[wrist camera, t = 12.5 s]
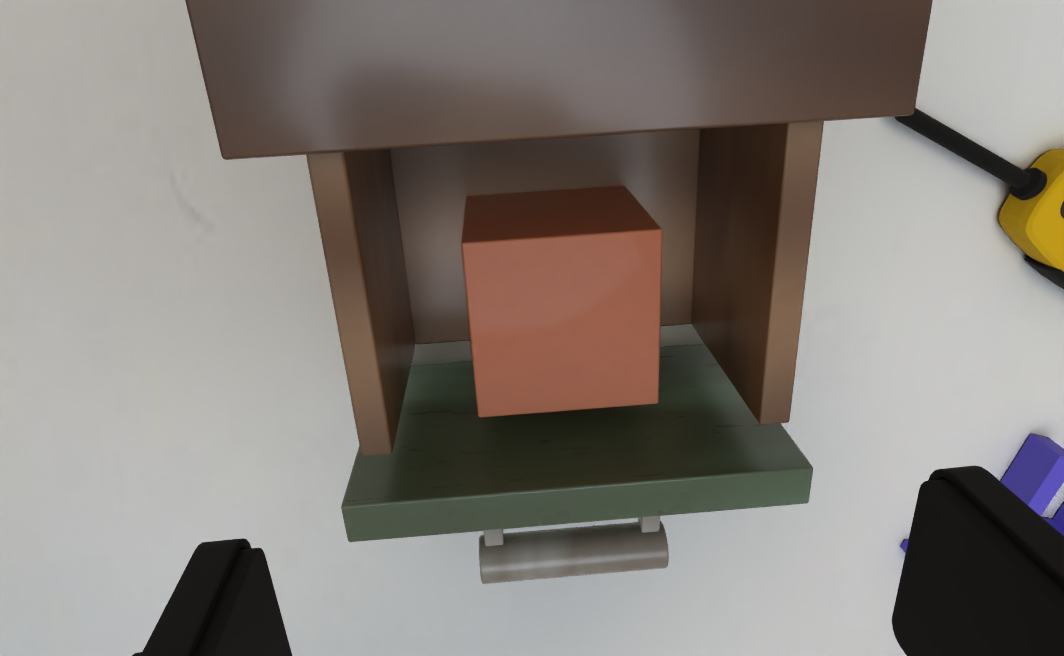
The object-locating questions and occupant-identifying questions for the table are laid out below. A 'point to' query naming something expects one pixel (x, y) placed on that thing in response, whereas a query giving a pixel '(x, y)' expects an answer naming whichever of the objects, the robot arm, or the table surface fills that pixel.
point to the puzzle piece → (1036, 477)
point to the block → (562, 300)
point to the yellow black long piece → (1016, 194)
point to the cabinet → (543, 68)
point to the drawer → (589, 434)
